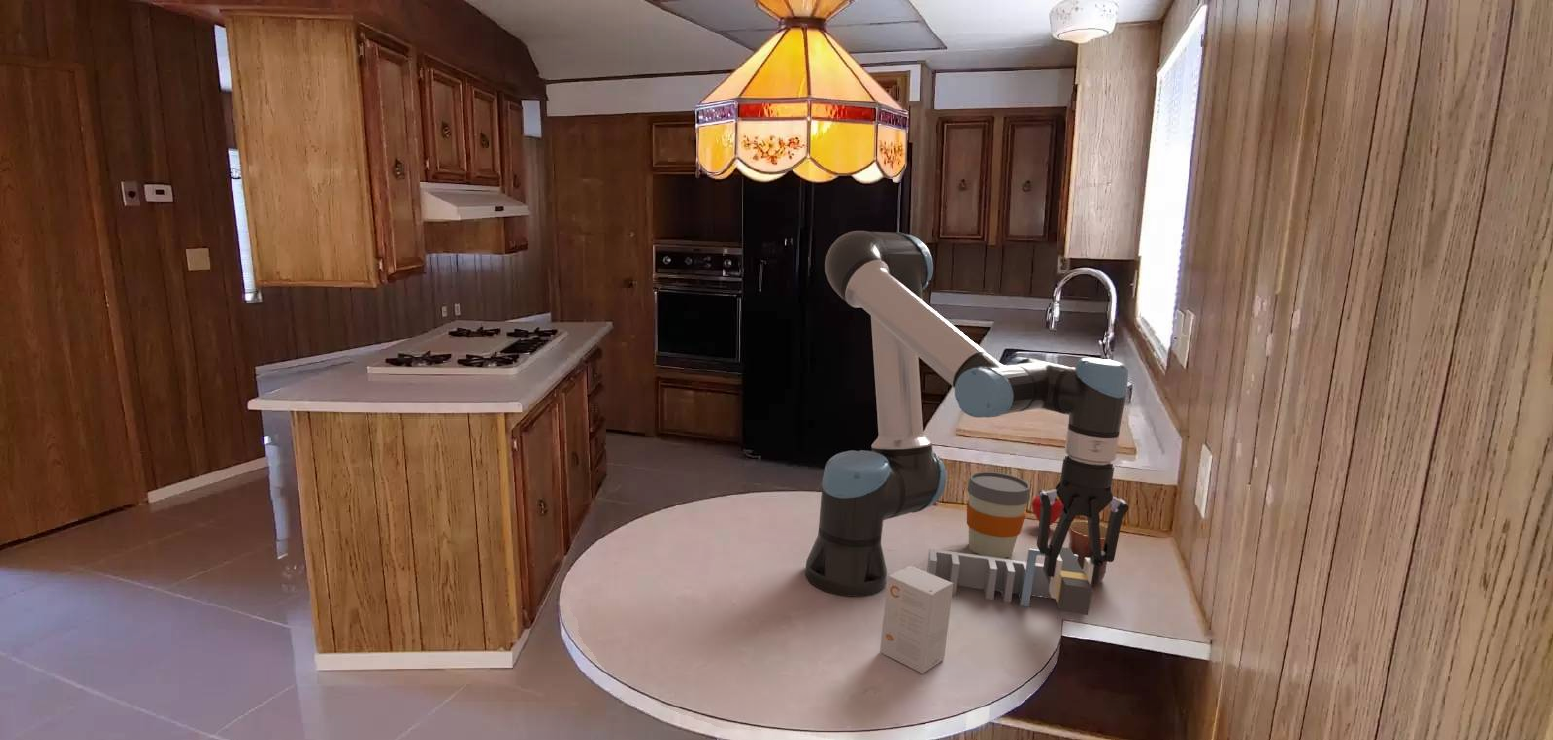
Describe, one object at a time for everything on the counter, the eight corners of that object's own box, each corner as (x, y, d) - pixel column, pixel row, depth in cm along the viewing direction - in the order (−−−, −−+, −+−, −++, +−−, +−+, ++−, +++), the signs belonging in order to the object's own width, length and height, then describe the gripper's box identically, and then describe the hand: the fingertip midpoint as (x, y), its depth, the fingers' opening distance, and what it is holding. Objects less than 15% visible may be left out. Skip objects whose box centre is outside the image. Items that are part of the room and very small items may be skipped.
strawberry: (1023, 522, 184) (1029, 481, 182) (1053, 522, 186) (1059, 481, 184) (1035, 532, 179) (1042, 490, 177) (1066, 532, 180) (1073, 490, 178)
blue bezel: (1020, 605, 144) (1029, 549, 142) (1020, 604, 144) (1028, 548, 142) (1069, 612, 143) (1078, 556, 140) (1068, 610, 143) (1077, 554, 141)
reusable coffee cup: (1025, 566, 161) (1036, 495, 158) (962, 557, 162) (971, 487, 159) (1016, 541, 173) (1026, 475, 170) (958, 533, 175) (966, 468, 172)
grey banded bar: (1061, 611, 124) (1065, 584, 123) (1042, 569, 140) (1046, 544, 139) (1088, 615, 123) (1092, 587, 123) (1067, 572, 139) (1070, 547, 138)
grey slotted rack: (926, 590, 146) (930, 560, 145) (925, 578, 152) (929, 548, 150) (1084, 613, 143) (1089, 582, 142) (1078, 599, 148) (1083, 569, 147)
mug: (1057, 565, 162) (1064, 518, 160) (1102, 572, 161) (1110, 524, 158) (1066, 592, 151) (1074, 541, 149) (1114, 599, 149) (1123, 548, 147)
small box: (944, 660, 124) (955, 582, 121) (922, 675, 119) (932, 595, 117) (901, 638, 129) (910, 564, 127) (878, 652, 125) (887, 575, 122)
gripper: (1036, 458, 122) (1016, 600, 126) (1154, 471, 119) (1130, 615, 124) (1028, 445, 129) (1010, 579, 134) (1139, 457, 127) (1117, 593, 131)
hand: (1068, 596), depth 129 cm, fingers closed on grey banded bar, 4 cm apart
